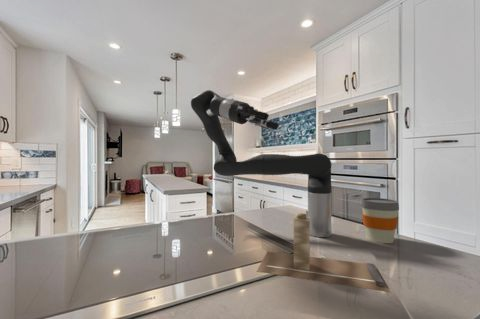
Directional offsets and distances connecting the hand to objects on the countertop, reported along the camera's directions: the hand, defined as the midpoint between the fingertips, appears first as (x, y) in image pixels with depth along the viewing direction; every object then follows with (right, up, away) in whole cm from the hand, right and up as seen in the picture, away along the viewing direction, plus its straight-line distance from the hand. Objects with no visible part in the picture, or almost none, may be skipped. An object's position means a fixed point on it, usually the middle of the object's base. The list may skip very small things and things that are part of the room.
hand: (272, 122), depth 73 cm
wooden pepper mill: (+6, -41, -10) cm, 43 cm away
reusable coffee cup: (+44, -43, +16) cm, 63 cm away
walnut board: (+10, -42, -12) cm, 45 cm away
